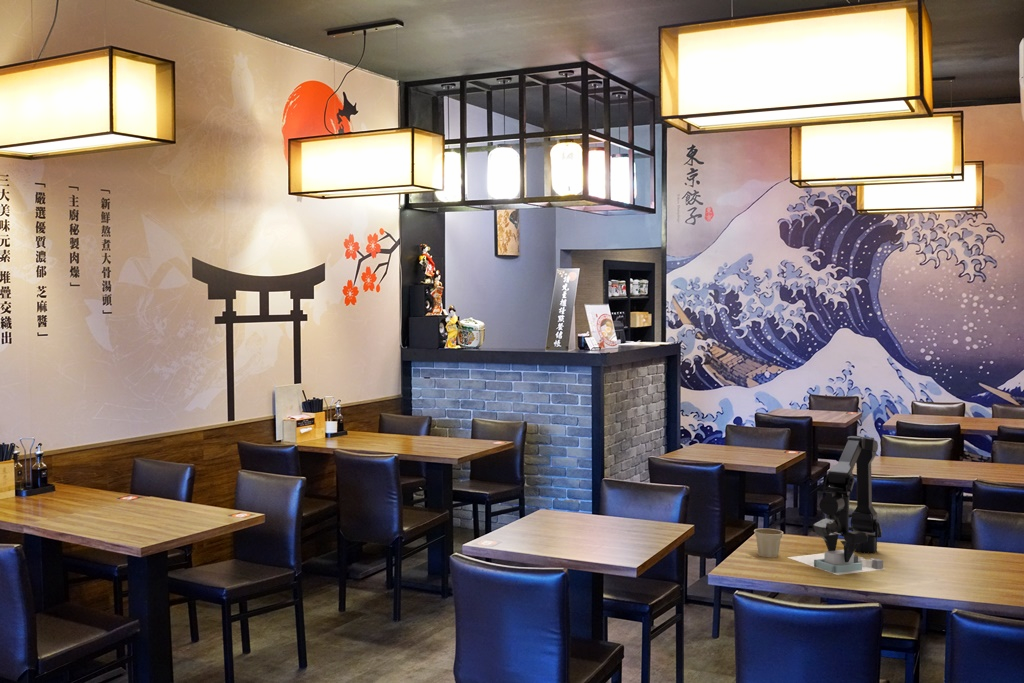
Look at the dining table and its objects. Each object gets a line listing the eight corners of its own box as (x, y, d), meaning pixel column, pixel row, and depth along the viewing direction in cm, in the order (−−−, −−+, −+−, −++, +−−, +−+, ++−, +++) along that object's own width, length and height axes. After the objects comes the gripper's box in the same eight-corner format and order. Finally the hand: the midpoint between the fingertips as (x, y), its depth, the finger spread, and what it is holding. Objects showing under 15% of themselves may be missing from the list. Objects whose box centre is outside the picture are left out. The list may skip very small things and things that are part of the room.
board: (832, 554, 312) (832, 552, 312) (885, 571, 290) (885, 569, 290) (786, 559, 304) (786, 557, 304) (837, 577, 283) (837, 574, 283)
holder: (814, 566, 293) (814, 559, 293) (841, 563, 297) (841, 556, 297) (834, 573, 285) (834, 566, 285) (862, 569, 289) (862, 563, 289)
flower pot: (780, 554, 312) (780, 528, 312) (785, 561, 302) (785, 534, 302) (751, 553, 313) (751, 528, 313) (756, 560, 303) (756, 534, 303)
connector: (824, 567, 291) (824, 551, 291) (851, 564, 295) (851, 548, 295) (833, 570, 288) (833, 554, 288) (860, 567, 292) (860, 551, 292)
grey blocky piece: (868, 563, 296) (868, 555, 296) (883, 568, 290) (883, 560, 290) (856, 565, 294) (856, 557, 294) (871, 570, 288) (871, 561, 288)
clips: (866, 563, 297) (866, 556, 297) (878, 567, 292) (878, 560, 292) (855, 564, 295) (855, 557, 295) (866, 568, 290) (866, 561, 290)
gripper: (798, 506, 296) (798, 555, 297) (840, 517, 279) (839, 569, 279) (826, 504, 301) (826, 552, 301) (869, 514, 283) (868, 565, 284)
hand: (839, 559), depth 291 cm, fingers open, 6 cm apart
